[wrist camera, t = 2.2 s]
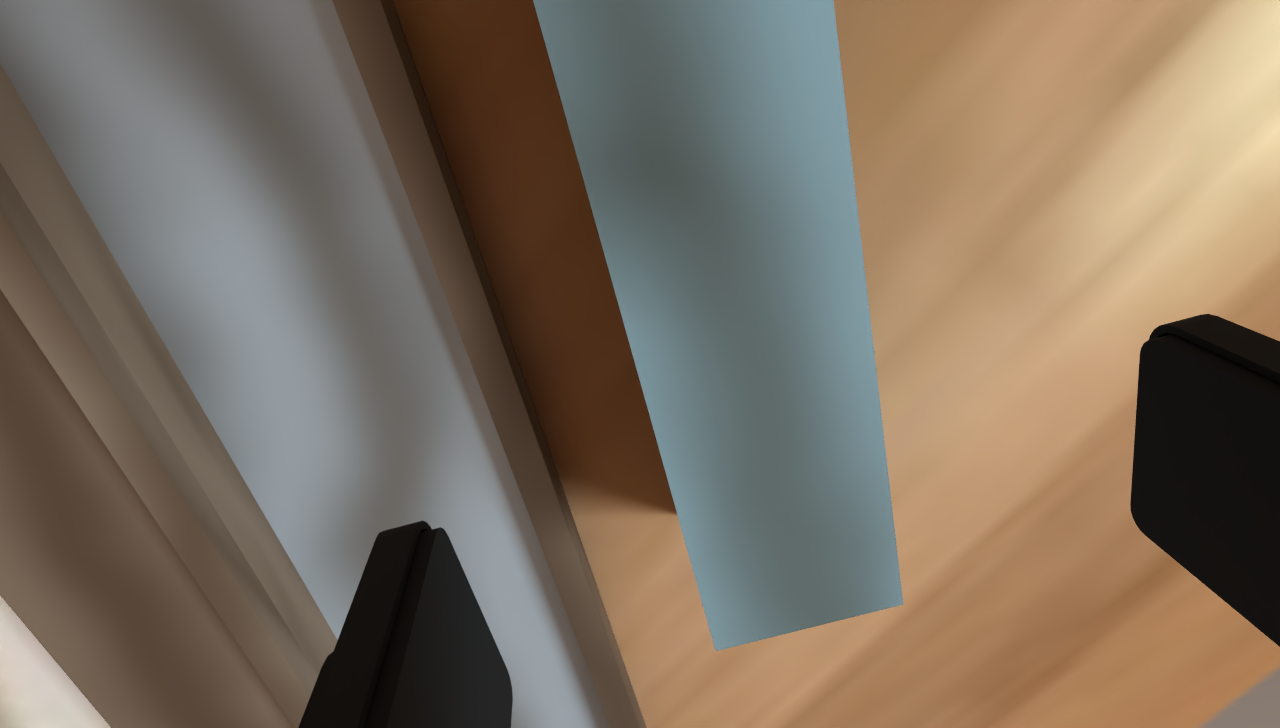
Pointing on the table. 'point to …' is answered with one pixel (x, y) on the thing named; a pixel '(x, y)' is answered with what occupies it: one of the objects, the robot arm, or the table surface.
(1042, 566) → the table surface
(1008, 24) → the table surface
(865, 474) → the teal rectangular block
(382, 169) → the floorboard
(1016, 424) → the table surface
